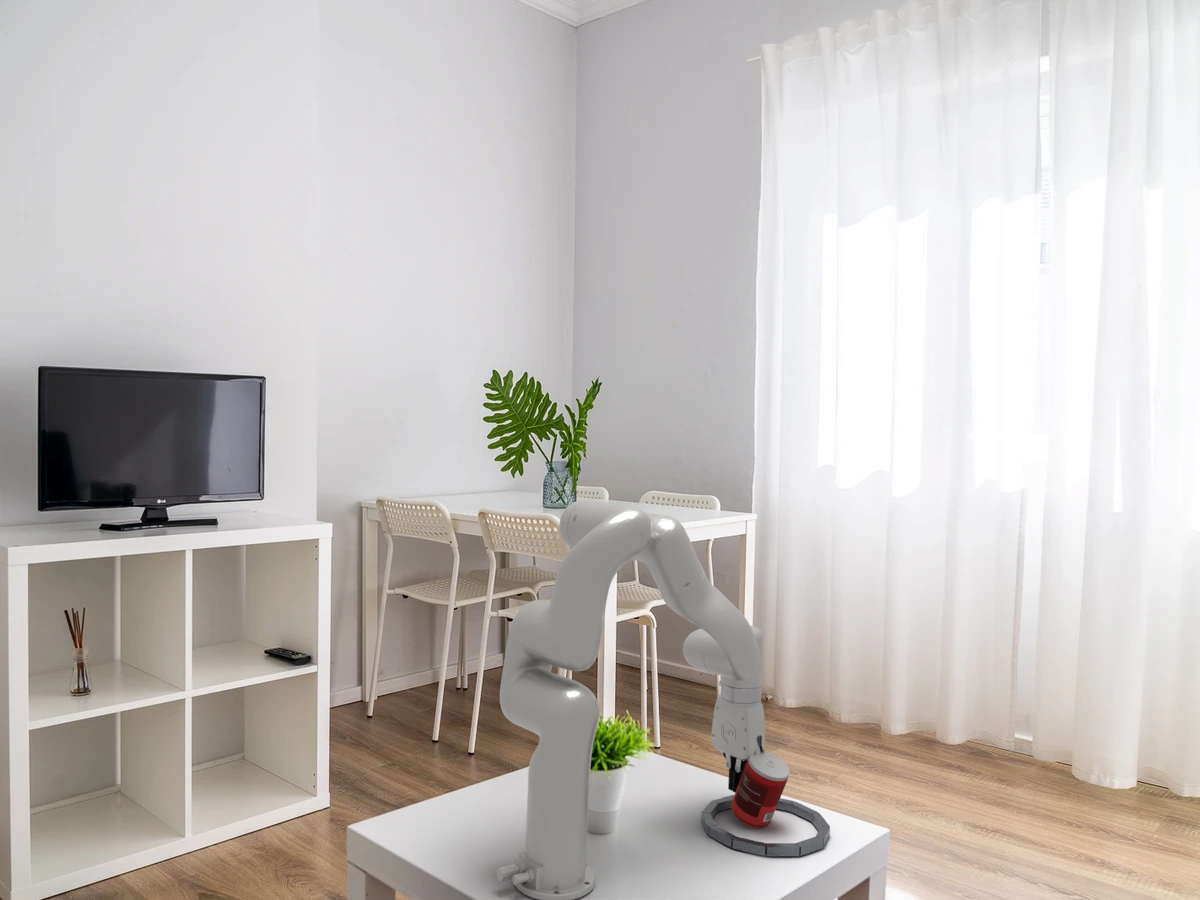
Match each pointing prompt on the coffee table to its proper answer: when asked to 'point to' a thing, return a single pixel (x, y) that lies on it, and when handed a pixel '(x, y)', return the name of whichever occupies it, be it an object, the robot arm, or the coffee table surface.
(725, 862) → the coffee table surface
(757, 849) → the ring
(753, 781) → the canned food
